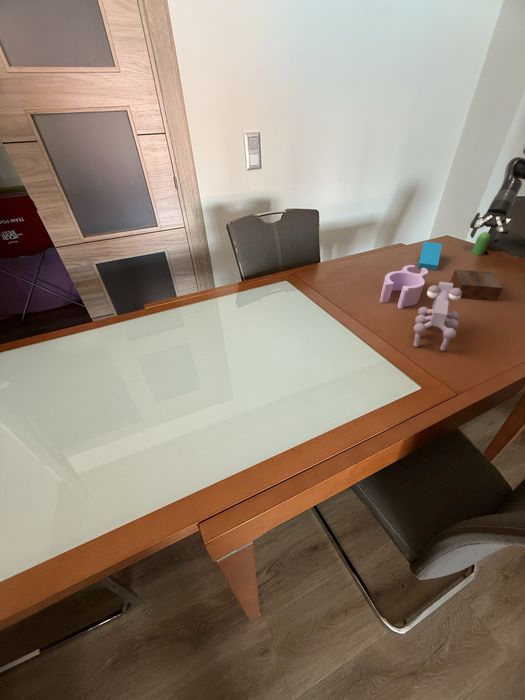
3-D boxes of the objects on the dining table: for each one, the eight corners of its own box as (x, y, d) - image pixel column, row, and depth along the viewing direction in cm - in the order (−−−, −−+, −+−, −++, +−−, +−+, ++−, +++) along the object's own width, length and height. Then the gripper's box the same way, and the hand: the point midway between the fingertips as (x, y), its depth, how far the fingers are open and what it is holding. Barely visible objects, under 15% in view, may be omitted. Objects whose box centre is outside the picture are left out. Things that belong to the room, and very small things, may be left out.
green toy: (481, 251, 134) (490, 230, 129) (484, 255, 131) (494, 234, 125) (470, 250, 135) (478, 230, 130) (473, 254, 132) (481, 234, 126)
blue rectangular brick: (432, 279, 126) (437, 252, 134) (438, 265, 120) (442, 238, 129) (414, 276, 128) (420, 250, 137) (419, 262, 122) (425, 236, 131)
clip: (397, 279, 117) (402, 262, 113) (430, 289, 110) (437, 271, 106) (373, 299, 106) (377, 281, 102) (408, 311, 99) (414, 293, 95)
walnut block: (485, 284, 111) (491, 272, 108) (496, 301, 102) (503, 287, 99) (450, 281, 114) (454, 269, 111) (457, 297, 105) (462, 284, 102)
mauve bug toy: (416, 311, 99) (429, 273, 91) (452, 319, 95) (469, 279, 87) (406, 345, 86) (421, 304, 77) (448, 356, 82) (468, 314, 73)
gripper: (483, 196, 129) (465, 231, 130) (524, 201, 121) (504, 238, 122) (481, 206, 135) (464, 239, 136) (519, 212, 128) (501, 247, 128)
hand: (483, 239), depth 129 cm, fingers open, 8 cm apart
